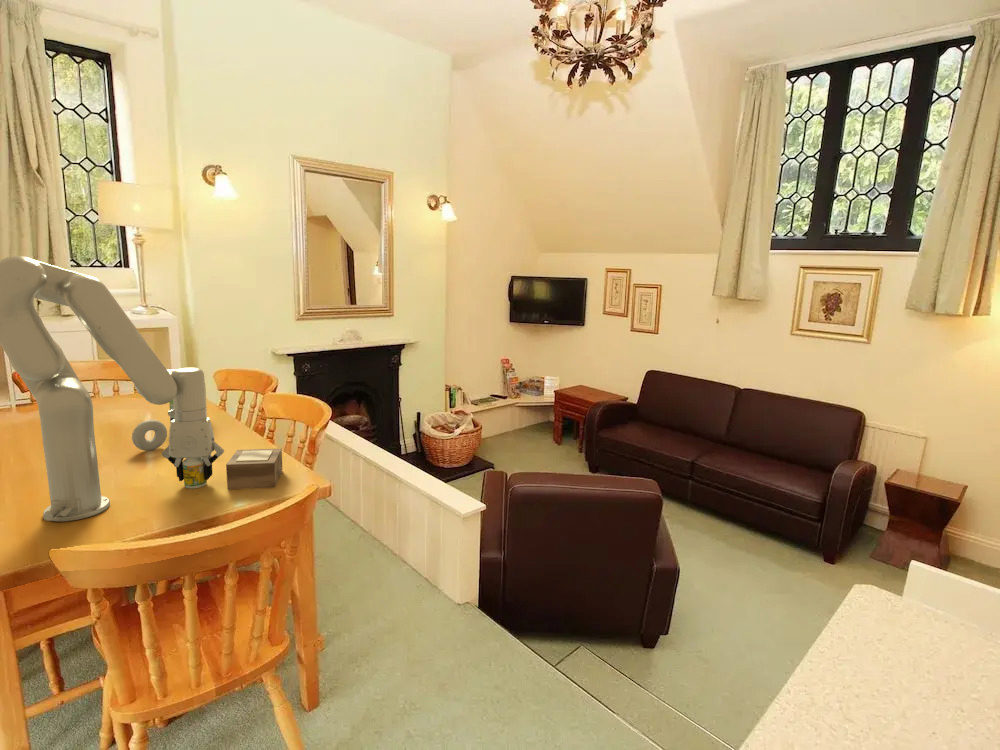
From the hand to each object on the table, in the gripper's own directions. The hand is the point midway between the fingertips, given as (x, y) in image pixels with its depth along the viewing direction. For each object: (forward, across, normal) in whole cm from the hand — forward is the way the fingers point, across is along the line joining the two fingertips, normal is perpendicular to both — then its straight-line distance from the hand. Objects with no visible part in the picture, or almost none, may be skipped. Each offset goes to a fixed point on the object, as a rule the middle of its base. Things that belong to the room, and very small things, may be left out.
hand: (195, 478), depth 147 cm
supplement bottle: (+2, 0, 0) cm, 2 cm away
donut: (+2, -22, +31) cm, 38 cm away
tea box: (+2, -19, +58) cm, 61 cm away
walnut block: (+2, +15, +2) cm, 15 cm away
